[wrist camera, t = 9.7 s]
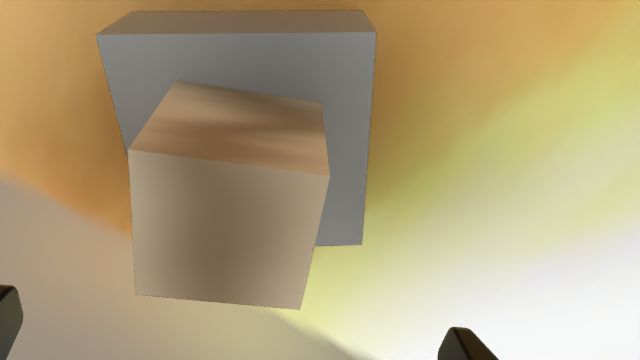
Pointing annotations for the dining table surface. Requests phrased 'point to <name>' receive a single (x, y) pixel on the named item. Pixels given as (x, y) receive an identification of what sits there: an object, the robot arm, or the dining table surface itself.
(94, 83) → the dining table surface
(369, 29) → the slate block
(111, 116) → the dining table surface
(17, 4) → the dining table surface
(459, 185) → the dining table surface
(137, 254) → the birch cube
